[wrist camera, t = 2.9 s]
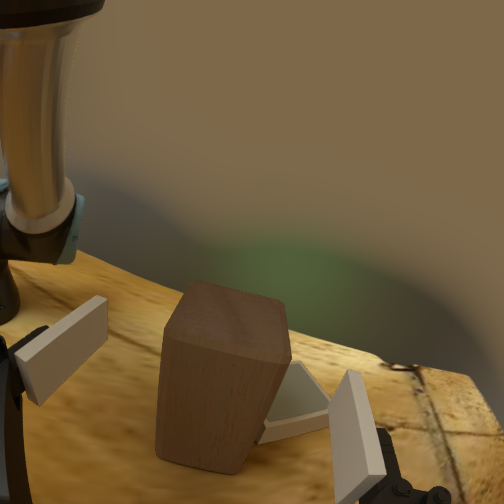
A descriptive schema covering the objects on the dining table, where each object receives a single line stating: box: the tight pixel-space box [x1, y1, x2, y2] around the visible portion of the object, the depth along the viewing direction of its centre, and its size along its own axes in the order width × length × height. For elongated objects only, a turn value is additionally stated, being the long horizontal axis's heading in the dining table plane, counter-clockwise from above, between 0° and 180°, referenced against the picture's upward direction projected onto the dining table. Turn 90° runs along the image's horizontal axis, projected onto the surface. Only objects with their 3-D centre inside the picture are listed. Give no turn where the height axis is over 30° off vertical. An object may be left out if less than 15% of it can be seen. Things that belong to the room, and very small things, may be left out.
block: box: [155, 281, 292, 475], centre depth 27 cm, size 10×10×20 cm
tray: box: [255, 361, 331, 444], centre depth 39 cm, size 12×12×4 cm
